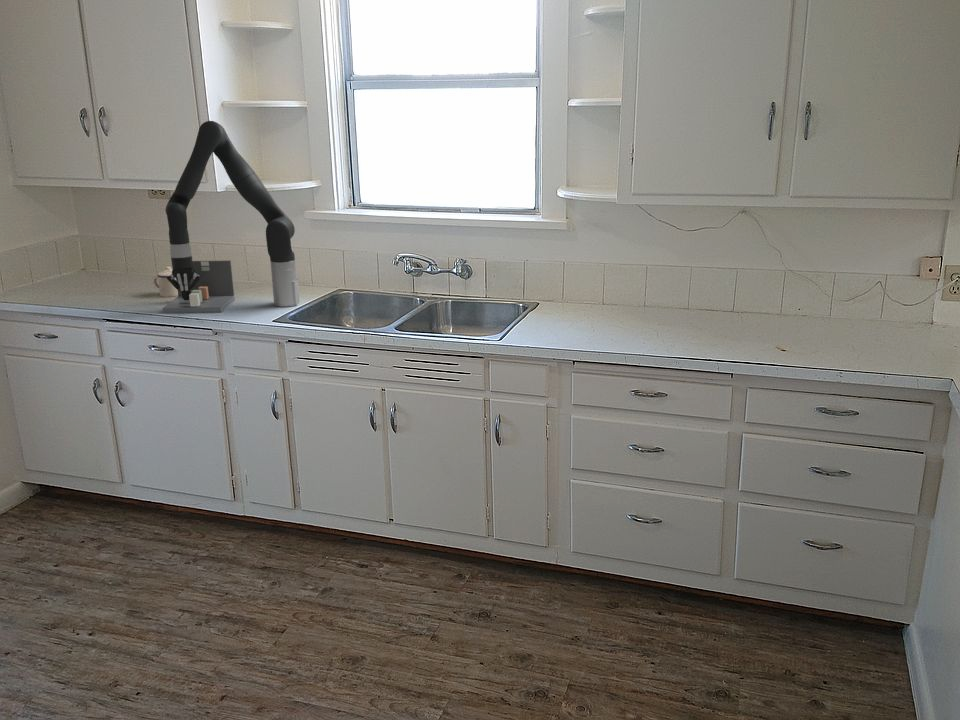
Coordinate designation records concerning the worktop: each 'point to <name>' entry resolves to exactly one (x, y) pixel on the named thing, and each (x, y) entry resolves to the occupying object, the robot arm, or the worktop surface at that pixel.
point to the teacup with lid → (165, 283)
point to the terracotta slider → (204, 292)
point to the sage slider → (199, 294)
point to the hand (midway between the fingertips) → (186, 299)
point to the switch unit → (218, 284)
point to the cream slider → (194, 299)
